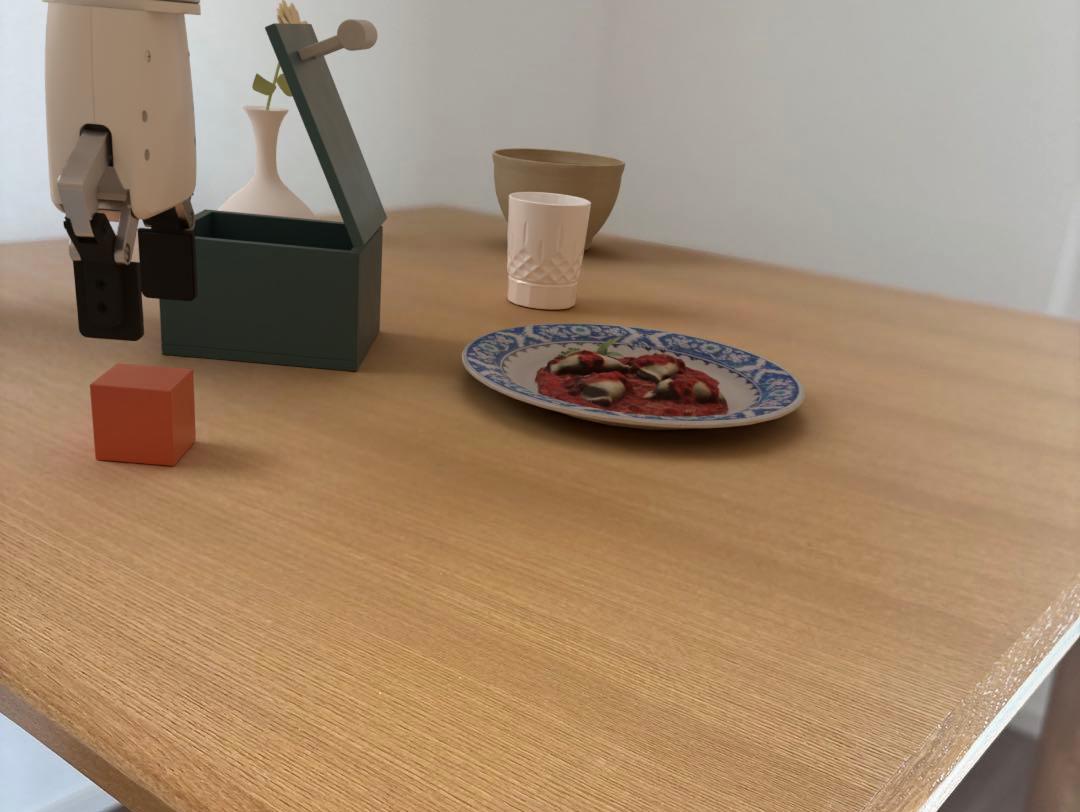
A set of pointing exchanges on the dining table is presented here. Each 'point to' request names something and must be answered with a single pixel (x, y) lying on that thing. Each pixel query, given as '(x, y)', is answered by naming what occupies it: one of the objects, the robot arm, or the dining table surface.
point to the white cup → (545, 248)
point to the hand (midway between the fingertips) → (143, 316)
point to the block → (143, 414)
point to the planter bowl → (560, 179)
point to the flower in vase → (269, 150)
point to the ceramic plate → (633, 376)
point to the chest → (277, 293)
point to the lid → (331, 117)
